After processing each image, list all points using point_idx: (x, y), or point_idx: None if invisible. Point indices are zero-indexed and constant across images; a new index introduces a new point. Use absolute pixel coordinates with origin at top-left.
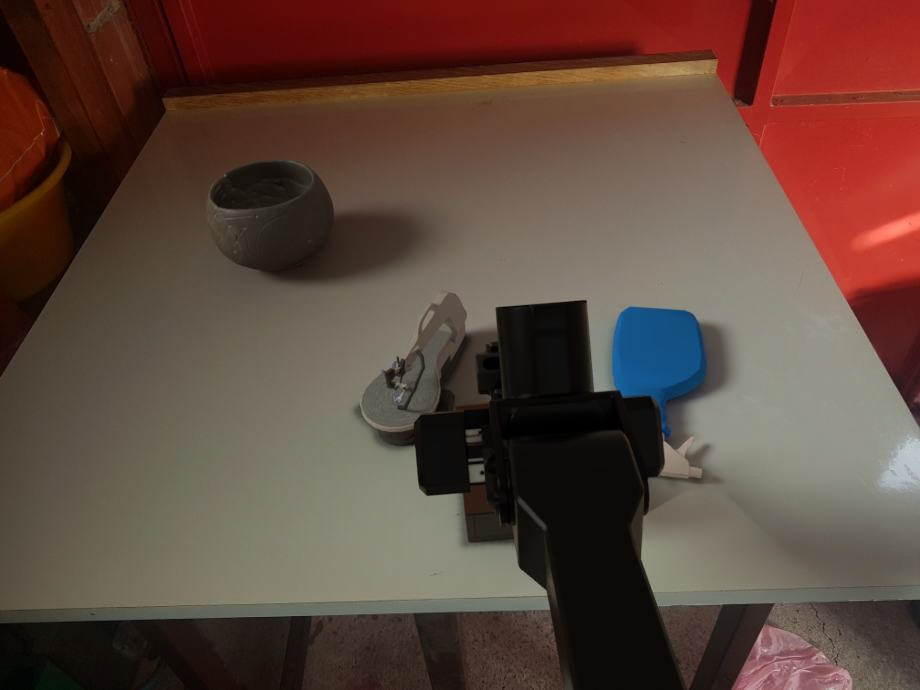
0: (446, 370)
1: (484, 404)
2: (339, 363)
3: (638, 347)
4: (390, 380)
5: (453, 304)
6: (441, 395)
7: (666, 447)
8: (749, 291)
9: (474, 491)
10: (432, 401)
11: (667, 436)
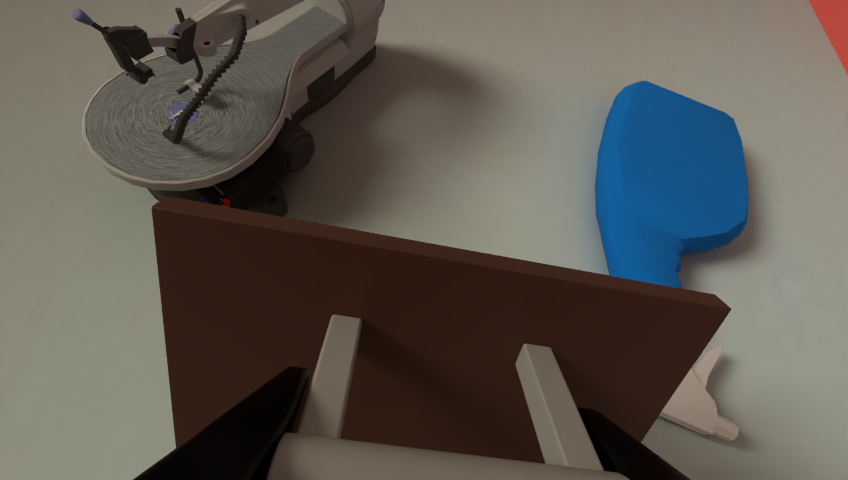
0: (321, 92)
1: (291, 233)
2: (142, 25)
3: (652, 151)
4: (128, 57)
5: None
6: (281, 134)
7: None
8: (784, 115)
9: None
10: (252, 142)
11: None
